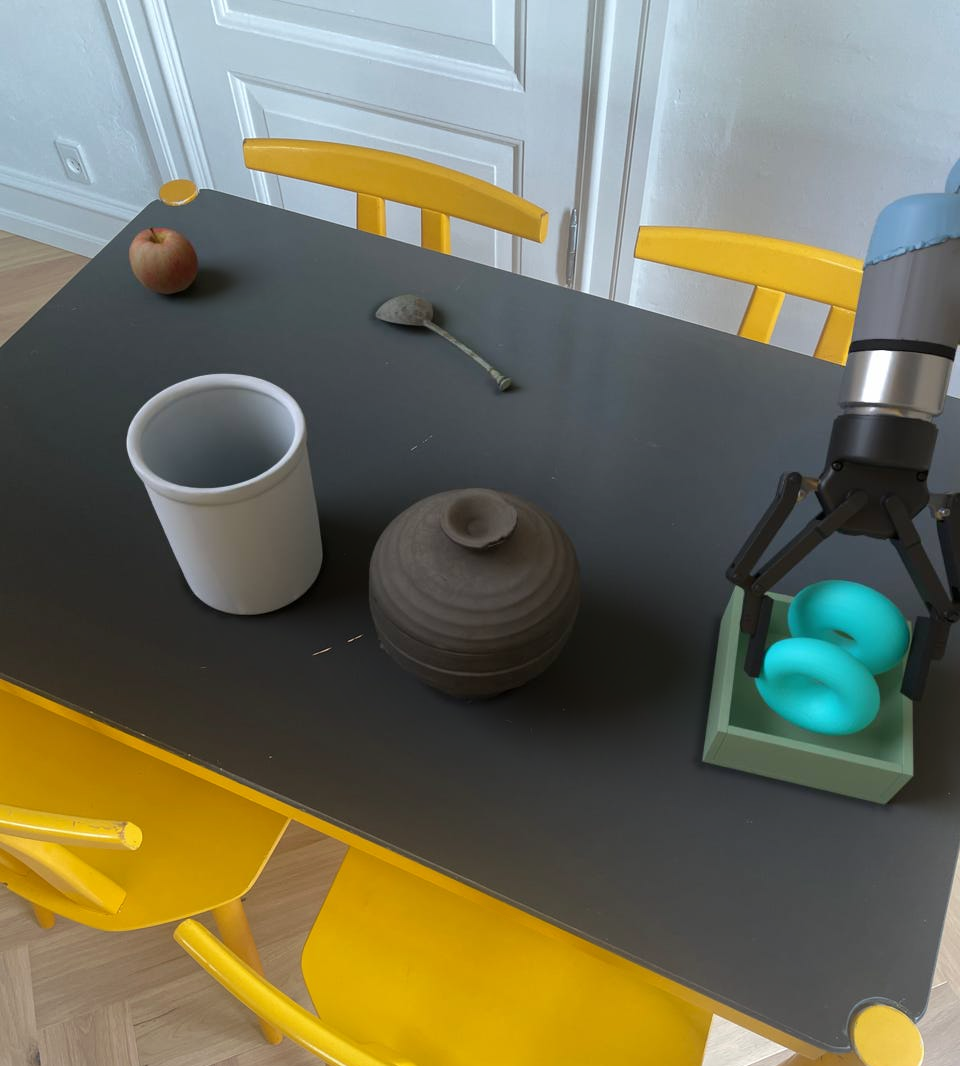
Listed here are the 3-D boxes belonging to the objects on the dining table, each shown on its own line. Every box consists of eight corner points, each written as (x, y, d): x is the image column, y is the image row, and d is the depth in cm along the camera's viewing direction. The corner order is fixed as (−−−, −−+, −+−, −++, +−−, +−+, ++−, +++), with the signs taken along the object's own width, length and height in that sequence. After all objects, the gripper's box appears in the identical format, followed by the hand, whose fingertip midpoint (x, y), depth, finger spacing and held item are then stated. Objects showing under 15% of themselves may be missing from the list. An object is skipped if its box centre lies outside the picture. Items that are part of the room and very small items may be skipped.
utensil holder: (241, 486, 95) (200, 351, 80) (358, 538, 91) (338, 406, 77) (150, 582, 88) (87, 452, 73) (273, 643, 84) (233, 518, 69)
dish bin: (886, 656, 84) (911, 621, 79) (885, 804, 76) (913, 775, 71) (720, 620, 86) (736, 584, 81) (702, 761, 78) (717, 730, 73)
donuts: (886, 675, 79) (936, 609, 70) (845, 759, 74) (892, 700, 66) (782, 623, 82) (817, 554, 73) (735, 701, 77) (767, 637, 69)
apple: (126, 288, 114) (105, 229, 107) (175, 260, 117) (158, 202, 111) (166, 314, 111) (147, 255, 104) (215, 285, 114) (200, 226, 108)
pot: (610, 621, 85) (628, 485, 68) (510, 770, 78) (502, 661, 61) (455, 543, 91) (436, 399, 73) (349, 676, 83) (300, 551, 66)
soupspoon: (407, 298, 114) (367, 322, 112) (403, 275, 112) (363, 298, 109) (526, 378, 105) (485, 405, 103) (526, 354, 102) (484, 382, 100)
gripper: (1026, 438, 71) (964, 696, 75) (720, 401, 73) (676, 654, 77) (1078, 434, 64) (1005, 720, 68) (735, 394, 66) (686, 673, 70)
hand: (830, 685), depth 73 cm, fingers closed on donuts, 12 cm apart
